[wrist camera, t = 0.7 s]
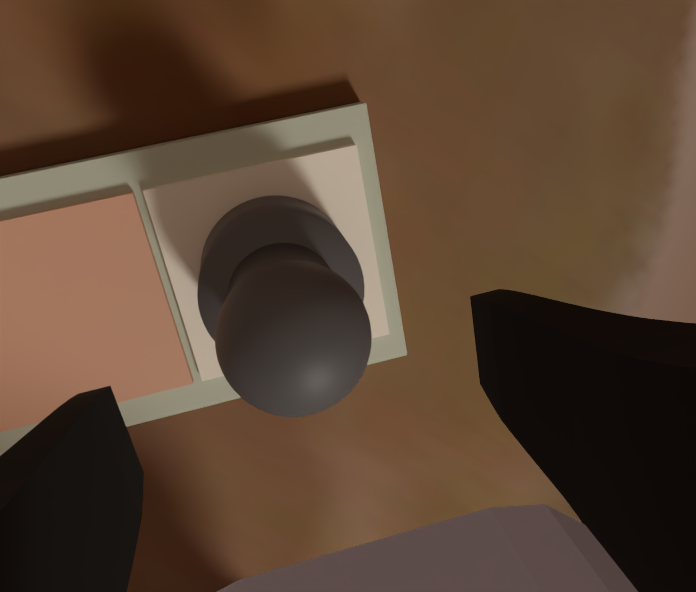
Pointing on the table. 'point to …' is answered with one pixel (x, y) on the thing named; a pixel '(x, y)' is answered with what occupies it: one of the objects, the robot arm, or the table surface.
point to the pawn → (284, 306)
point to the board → (164, 261)
